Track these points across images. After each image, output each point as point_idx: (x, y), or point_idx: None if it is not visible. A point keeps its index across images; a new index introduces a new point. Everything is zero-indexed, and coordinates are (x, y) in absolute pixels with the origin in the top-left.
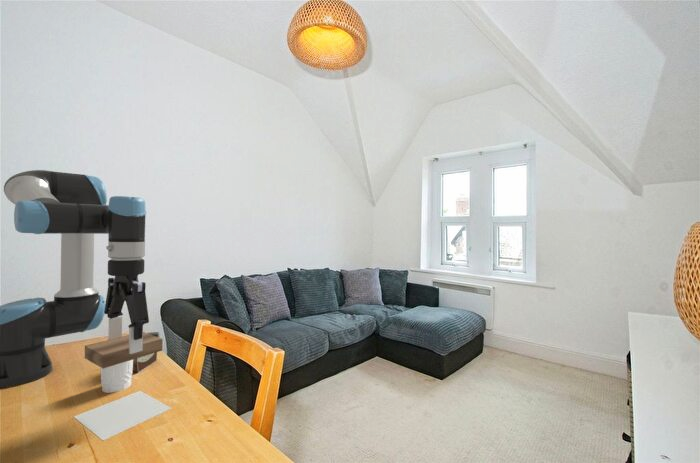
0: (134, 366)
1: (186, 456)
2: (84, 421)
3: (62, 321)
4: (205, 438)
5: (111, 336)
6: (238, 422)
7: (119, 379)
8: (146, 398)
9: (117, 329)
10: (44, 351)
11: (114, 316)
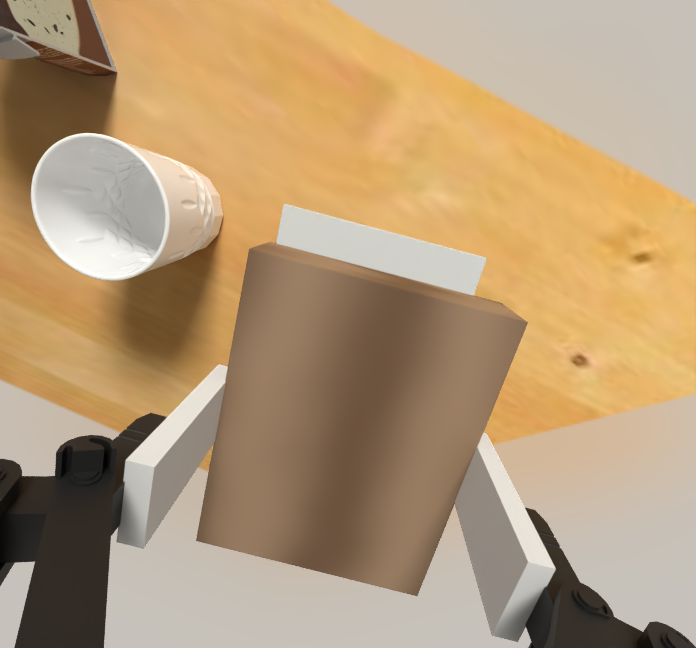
0: (83, 68)
1: (665, 398)
2: None
3: None
4: (676, 331)
5: (209, 444)
6: None
7: (201, 234)
8: (353, 238)
9: (199, 435)
10: None
11: (114, 513)
